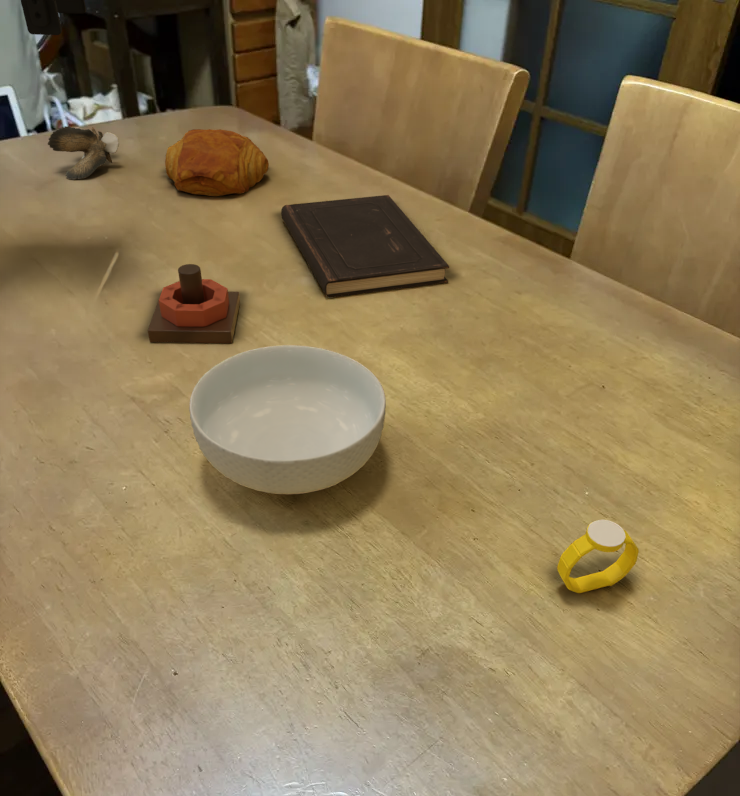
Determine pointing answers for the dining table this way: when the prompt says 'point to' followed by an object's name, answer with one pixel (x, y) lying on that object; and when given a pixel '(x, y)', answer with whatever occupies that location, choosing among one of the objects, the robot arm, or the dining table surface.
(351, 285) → the hardcover book
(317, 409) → the cereal bowl
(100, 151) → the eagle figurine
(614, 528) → the watch
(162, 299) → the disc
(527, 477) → the dining table surface
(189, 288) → the stand
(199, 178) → the croissant
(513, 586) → the dining table surface
